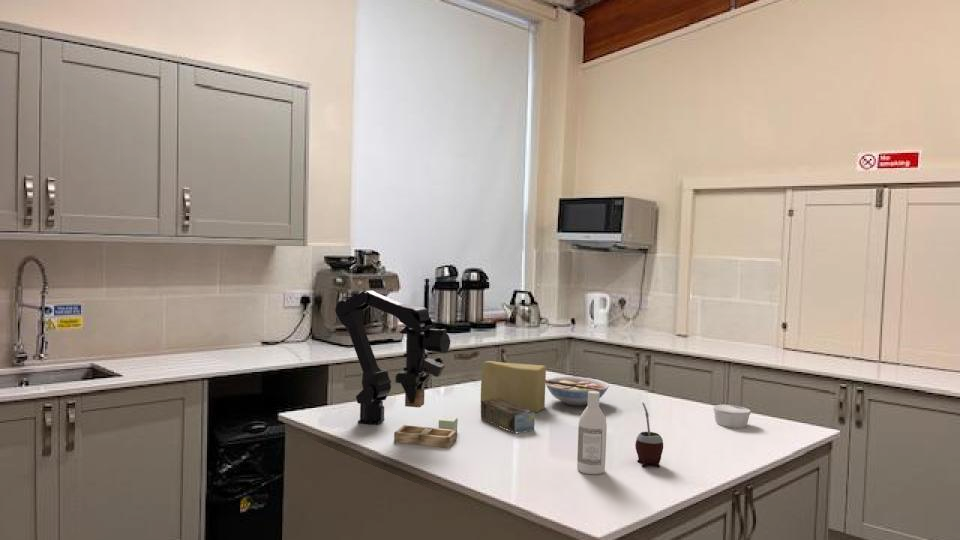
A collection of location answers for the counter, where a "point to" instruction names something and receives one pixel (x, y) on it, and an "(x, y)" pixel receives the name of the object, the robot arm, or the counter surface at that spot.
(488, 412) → the beverage carton
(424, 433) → the box
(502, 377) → the cheese
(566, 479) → the counter surface
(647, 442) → the mate gourd
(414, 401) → the walnut cube
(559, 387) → the ramen bowl
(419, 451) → the counter surface
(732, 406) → the ramekin
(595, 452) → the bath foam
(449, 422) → the sage cube
